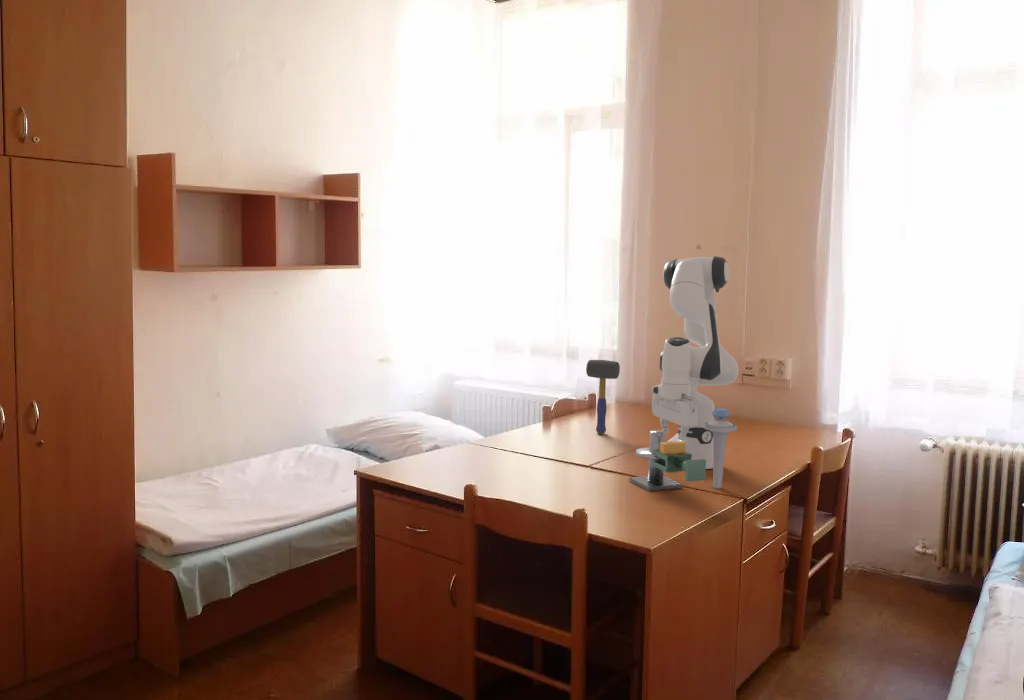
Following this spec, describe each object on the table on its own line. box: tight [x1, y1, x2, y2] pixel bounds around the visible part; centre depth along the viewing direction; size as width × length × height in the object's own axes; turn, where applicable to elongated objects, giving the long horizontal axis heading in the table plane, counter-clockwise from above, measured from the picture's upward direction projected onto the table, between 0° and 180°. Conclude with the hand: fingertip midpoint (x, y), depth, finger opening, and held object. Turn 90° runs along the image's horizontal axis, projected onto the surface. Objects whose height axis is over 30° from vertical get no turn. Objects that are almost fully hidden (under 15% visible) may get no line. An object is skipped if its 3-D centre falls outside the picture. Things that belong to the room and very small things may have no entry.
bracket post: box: [628, 429, 707, 492], centre depth 266 cm, size 29×13×17 cm, turn 22°
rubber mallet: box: [585, 359, 621, 435], centre depth 346 cm, size 12×8×30 cm, turn 67°
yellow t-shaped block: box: [660, 441, 686, 475], centre depth 264 cm, size 2×8×10 cm, turn 112°
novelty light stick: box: [704, 407, 738, 489], centre depth 271 cm, size 10×10×25 cm
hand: (673, 436), depth 264 cm, fingers open, 8 cm apart
